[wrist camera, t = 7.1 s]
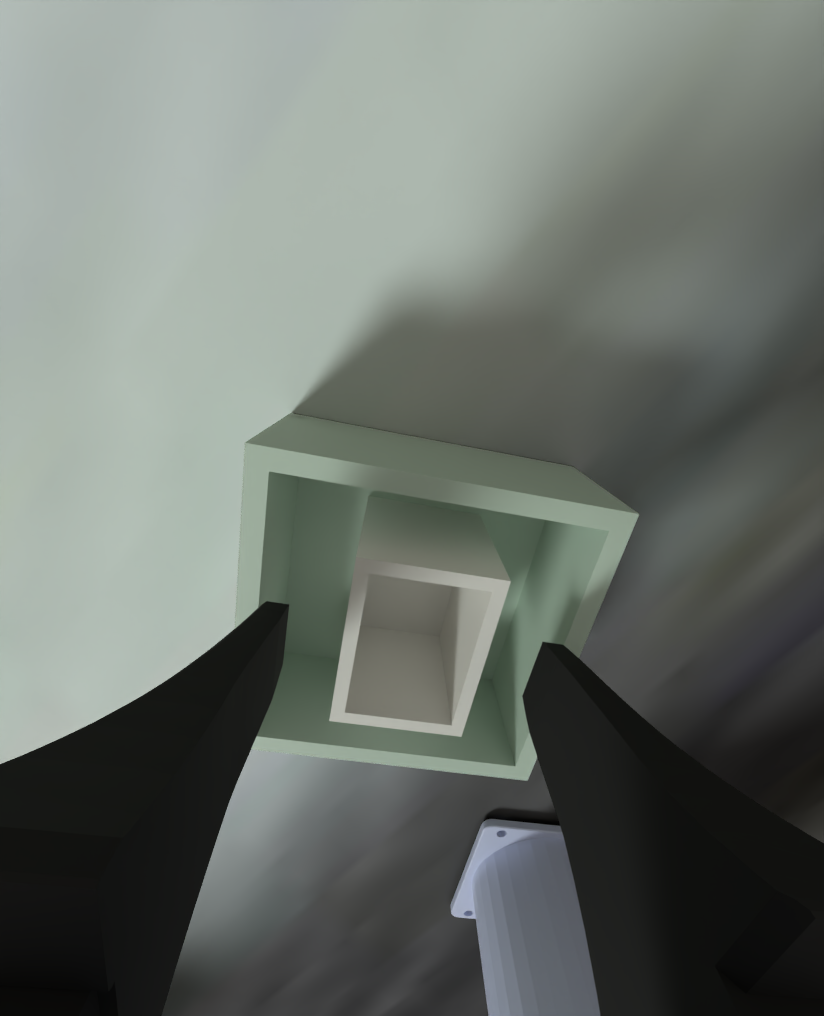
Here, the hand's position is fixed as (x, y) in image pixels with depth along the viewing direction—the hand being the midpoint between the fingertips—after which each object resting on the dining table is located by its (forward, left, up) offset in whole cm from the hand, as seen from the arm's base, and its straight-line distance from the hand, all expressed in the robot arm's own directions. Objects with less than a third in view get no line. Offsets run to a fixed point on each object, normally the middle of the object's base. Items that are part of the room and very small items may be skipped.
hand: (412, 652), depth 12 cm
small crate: (0, 0, -4) cm, 4 cm away
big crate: (0, 0, -5) cm, 5 cm away
